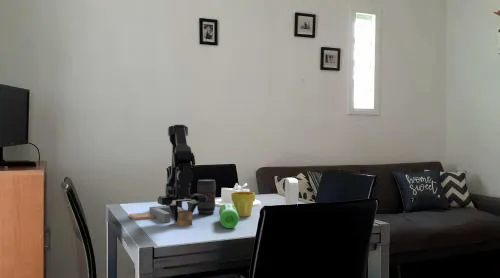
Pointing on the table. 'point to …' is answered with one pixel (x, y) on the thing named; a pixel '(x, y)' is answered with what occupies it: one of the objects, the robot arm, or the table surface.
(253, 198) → the plant pot
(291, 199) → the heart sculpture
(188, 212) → the walnut block
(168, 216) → the pocket board
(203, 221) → the table surface
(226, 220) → the speaker
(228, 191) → the dish
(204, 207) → the camera lens
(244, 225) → the table surface
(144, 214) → the terracotta tile
